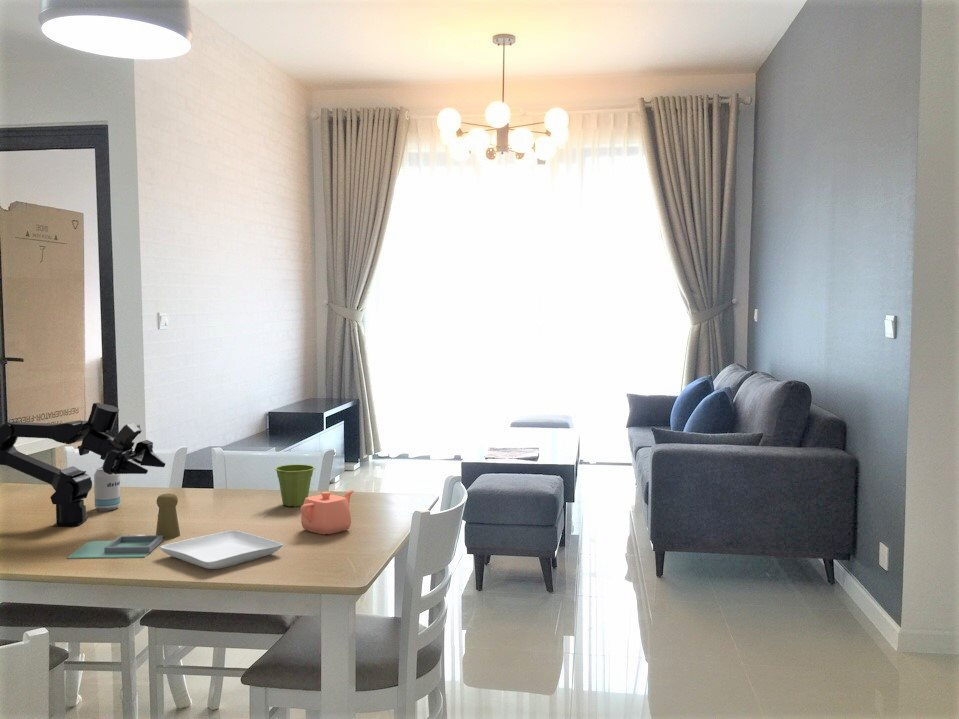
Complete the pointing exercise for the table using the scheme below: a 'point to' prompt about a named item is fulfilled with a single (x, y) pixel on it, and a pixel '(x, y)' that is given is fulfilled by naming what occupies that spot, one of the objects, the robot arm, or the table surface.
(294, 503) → the plant pot
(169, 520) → the cork
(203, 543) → the salad plate
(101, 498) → the beverage can
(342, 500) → the teapot
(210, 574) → the table surface
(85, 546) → the board
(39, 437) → the robot arm
